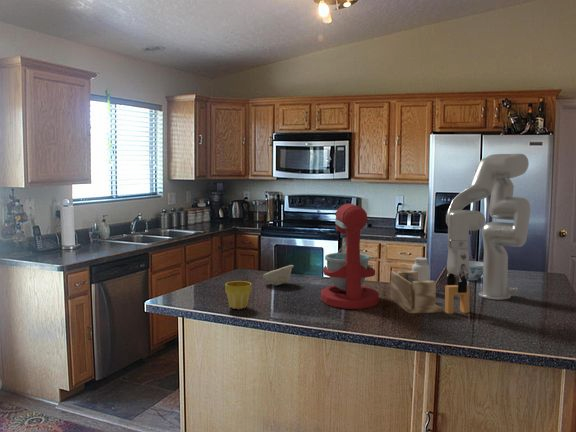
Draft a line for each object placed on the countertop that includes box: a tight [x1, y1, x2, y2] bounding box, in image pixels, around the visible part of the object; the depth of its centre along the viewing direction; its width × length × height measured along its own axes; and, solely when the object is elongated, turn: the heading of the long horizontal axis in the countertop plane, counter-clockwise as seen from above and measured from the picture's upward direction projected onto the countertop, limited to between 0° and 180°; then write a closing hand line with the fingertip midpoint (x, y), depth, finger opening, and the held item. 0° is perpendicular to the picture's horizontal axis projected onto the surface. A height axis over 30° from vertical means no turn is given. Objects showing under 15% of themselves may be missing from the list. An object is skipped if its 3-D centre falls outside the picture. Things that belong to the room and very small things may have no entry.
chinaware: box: [467, 260, 484, 281], centre depth 256 cm, size 15×15×8 cm
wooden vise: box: [389, 270, 443, 314], centre depth 208 cm, size 13×23×12 cm, turn 6°
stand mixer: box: [320, 203, 380, 310], centre depth 215 cm, size 24×32×40 cm
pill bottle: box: [411, 257, 431, 281], centre depth 229 cm, size 8×8×15 cm
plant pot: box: [224, 280, 253, 308], centre depth 204 cm, size 10×10×10 cm
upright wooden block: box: [444, 284, 470, 315], centre depth 197 cm, size 8×3×10 cm, turn 96°
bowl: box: [262, 264, 294, 286], centre depth 245 cm, size 15×14×10 cm
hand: (456, 289), depth 196 cm, fingers open, 9 cm apart
